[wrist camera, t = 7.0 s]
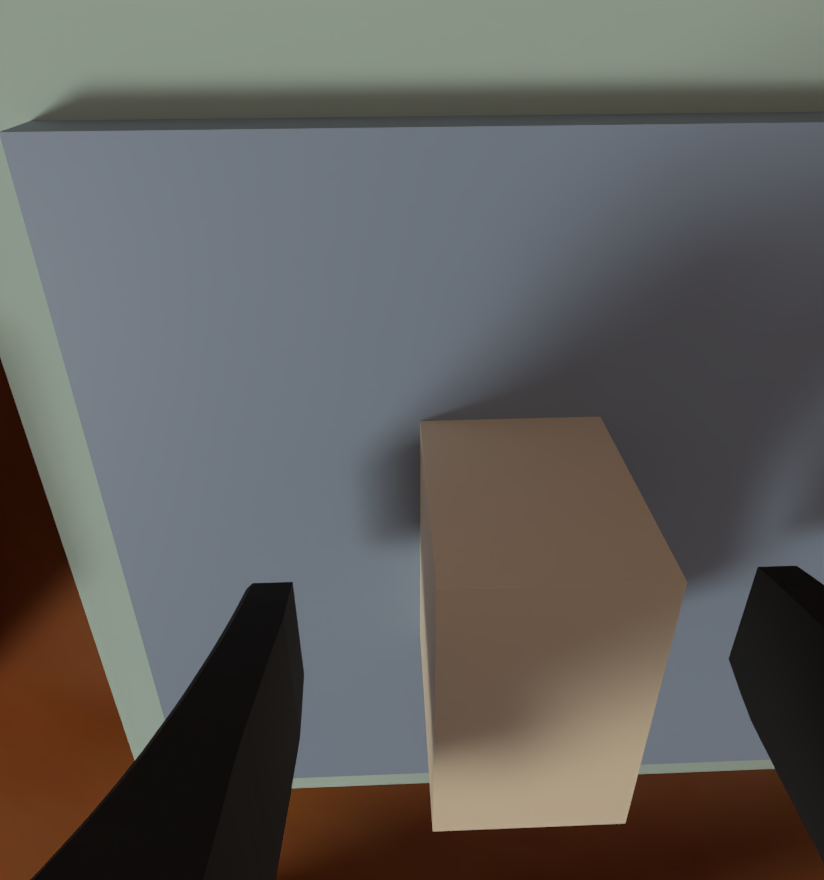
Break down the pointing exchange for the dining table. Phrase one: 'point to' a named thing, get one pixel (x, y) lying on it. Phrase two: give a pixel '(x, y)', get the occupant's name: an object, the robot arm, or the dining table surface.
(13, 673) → the dining table surface
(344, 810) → the dining table surface
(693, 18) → the mat
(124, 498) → the lid
